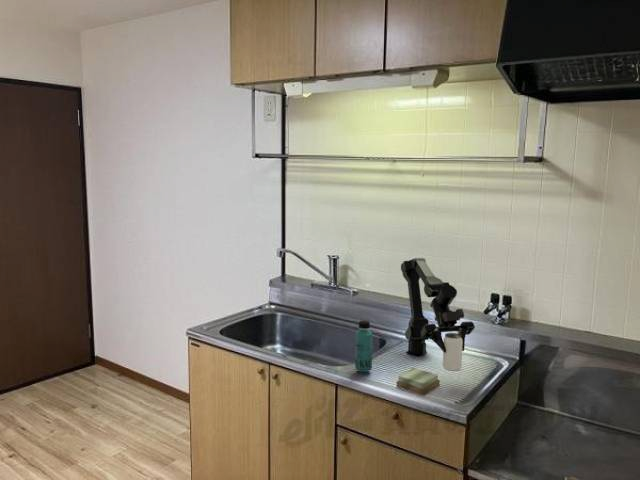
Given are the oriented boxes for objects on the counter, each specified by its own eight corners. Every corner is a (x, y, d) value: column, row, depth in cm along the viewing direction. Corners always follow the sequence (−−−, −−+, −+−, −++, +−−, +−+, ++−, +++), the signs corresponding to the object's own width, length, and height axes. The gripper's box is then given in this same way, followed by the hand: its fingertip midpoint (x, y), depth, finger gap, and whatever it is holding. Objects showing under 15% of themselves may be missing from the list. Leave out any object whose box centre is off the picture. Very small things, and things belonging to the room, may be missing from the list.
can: (455, 373, 182) (456, 339, 180) (439, 368, 186) (440, 335, 184) (464, 367, 186) (466, 335, 184) (448, 362, 191) (449, 331, 189)
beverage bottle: (357, 368, 203) (358, 318, 200) (374, 370, 201) (375, 320, 198) (352, 374, 197) (352, 322, 194) (369, 377, 195) (370, 324, 192)
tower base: (396, 386, 186) (396, 376, 186) (412, 377, 195) (412, 366, 194) (424, 395, 179) (424, 384, 179) (439, 385, 188) (439, 374, 187)
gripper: (424, 302, 185) (436, 343, 176) (473, 299, 188) (487, 339, 179) (415, 317, 193) (426, 357, 184) (462, 314, 197) (475, 353, 188)
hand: (454, 351), depth 184 cm, fingers closed on can, 6 cm apart
